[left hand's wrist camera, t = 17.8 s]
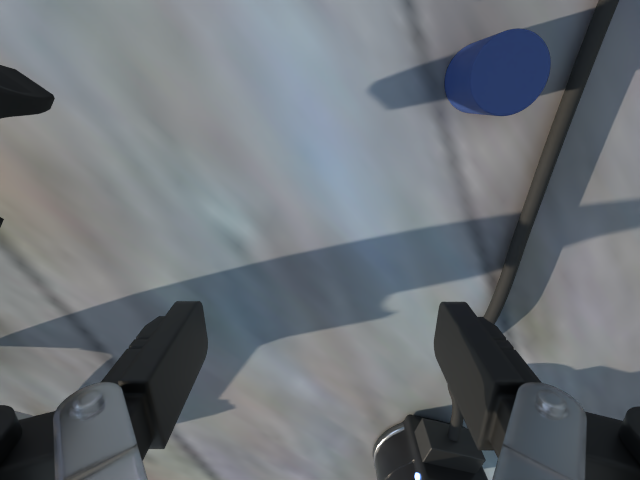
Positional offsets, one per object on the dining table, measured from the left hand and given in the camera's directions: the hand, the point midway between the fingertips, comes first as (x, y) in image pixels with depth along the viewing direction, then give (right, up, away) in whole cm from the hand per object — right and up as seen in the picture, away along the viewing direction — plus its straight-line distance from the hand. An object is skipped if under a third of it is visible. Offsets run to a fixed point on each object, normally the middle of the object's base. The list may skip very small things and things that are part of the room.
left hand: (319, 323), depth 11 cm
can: (+10, +13, +10) cm, 19 cm away
